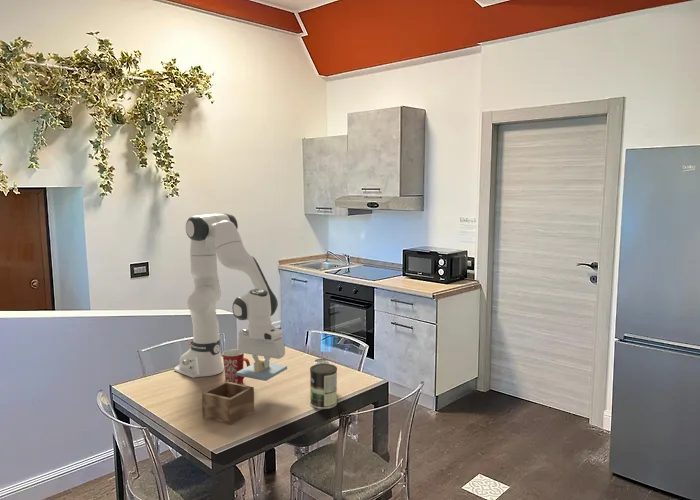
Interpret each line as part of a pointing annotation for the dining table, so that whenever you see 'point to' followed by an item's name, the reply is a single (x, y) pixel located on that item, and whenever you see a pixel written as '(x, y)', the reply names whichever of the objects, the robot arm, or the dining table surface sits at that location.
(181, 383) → the dining table surface
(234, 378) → the mug
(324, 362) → the can
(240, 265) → the robot arm
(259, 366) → the lid
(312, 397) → the coffee can
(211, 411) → the box
